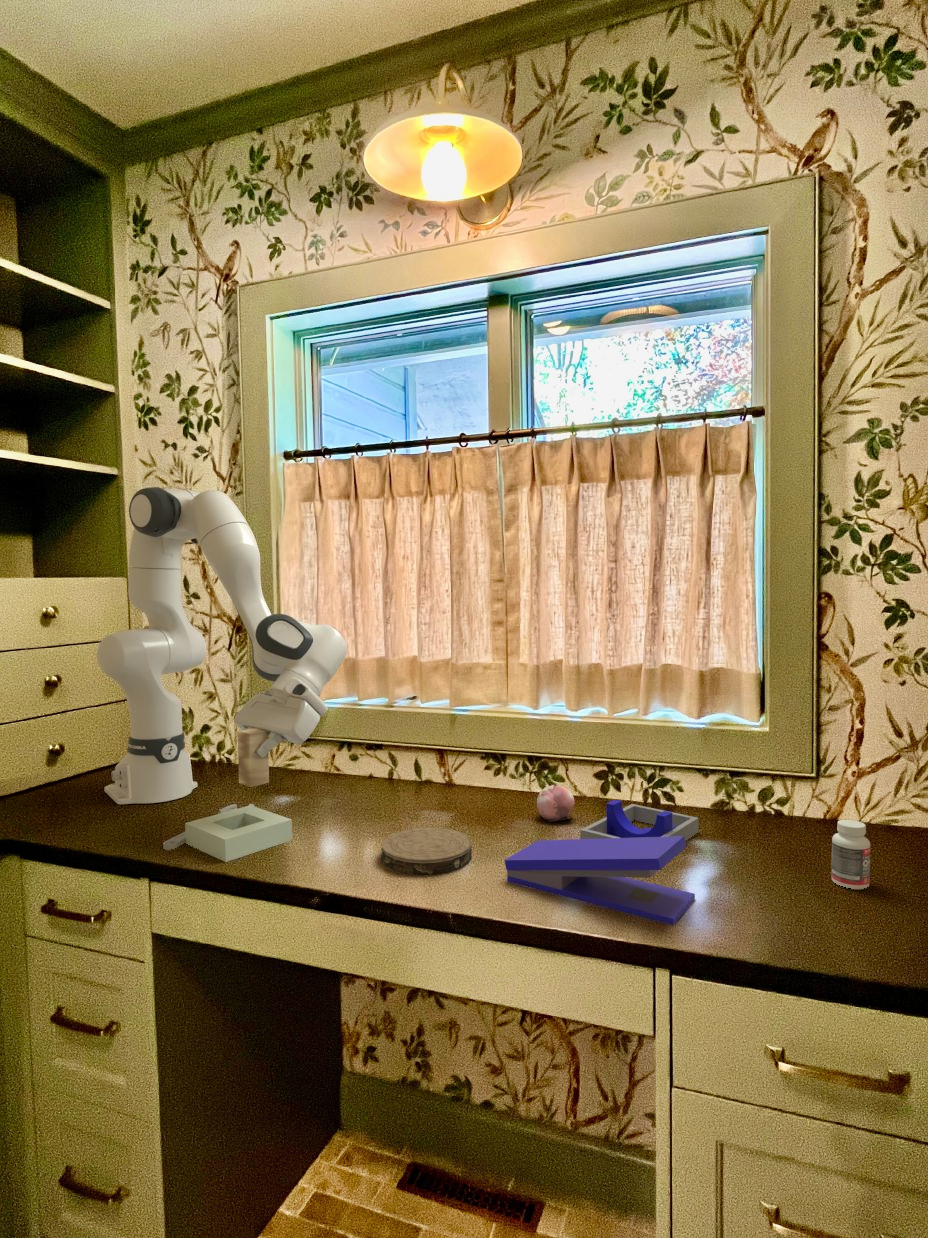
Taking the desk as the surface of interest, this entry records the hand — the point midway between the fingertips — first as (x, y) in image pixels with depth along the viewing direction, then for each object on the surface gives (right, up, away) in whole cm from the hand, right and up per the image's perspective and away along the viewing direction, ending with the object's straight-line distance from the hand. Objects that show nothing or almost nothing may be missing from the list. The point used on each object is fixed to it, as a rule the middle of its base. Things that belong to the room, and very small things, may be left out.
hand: (250, 752), depth 136 cm
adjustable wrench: (-11, -17, +9) cm, 22 cm away
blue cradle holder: (+74, -16, -1) cm, 76 cm away
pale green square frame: (-2, -17, 0) cm, 17 cm away
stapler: (+62, -18, -23) cm, 68 cm away
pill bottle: (+102, -17, -21) cm, 106 cm away
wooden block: (0, -6, +1) cm, 6 cm away
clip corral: (+74, -16, -1) cm, 76 cm away
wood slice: (+34, -18, -9) cm, 39 cm away
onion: (+60, -16, +11) cm, 63 cm away
